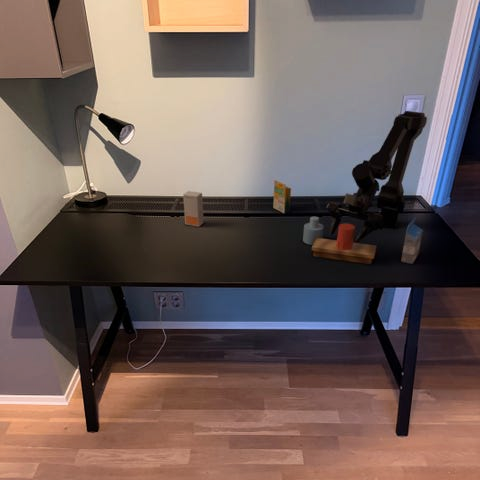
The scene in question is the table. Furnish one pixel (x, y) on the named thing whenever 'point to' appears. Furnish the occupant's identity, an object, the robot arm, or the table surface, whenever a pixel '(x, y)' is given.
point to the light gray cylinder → (312, 231)
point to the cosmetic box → (193, 208)
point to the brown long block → (344, 251)
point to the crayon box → (281, 197)
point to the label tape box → (412, 243)
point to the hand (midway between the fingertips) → (343, 238)
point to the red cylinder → (345, 236)
